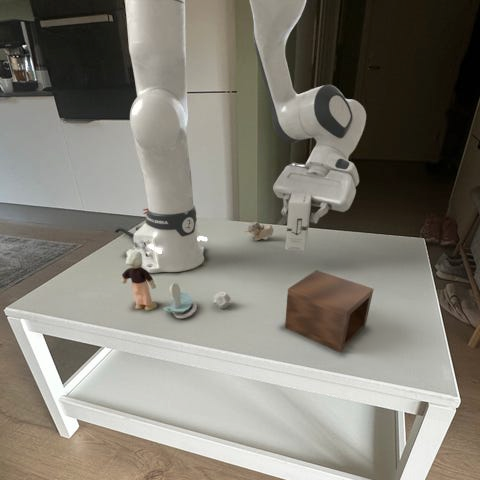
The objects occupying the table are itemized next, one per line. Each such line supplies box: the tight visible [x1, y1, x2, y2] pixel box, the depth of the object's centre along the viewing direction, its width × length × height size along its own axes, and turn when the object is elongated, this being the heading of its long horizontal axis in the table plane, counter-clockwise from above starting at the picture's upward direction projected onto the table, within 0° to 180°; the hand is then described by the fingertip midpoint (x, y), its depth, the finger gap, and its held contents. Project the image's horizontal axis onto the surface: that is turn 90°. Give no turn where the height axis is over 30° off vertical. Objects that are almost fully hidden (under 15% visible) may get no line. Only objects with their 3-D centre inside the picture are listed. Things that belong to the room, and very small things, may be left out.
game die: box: [213, 291, 231, 310], centre depth 78 cm, size 4×4×3 cm
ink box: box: [285, 192, 312, 252], centre depth 88 cm, size 9×5×12 cm, turn 167°
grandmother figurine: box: [121, 250, 157, 311], centre depth 75 cm, size 8×4×13 cm, turn 84°
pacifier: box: [162, 282, 198, 319], centre depth 75 cm, size 7×6×6 cm
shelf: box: [284, 269, 375, 354], centre depth 69 cm, size 12×10×9 cm
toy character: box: [244, 221, 274, 241], centre depth 109 cm, size 4×8×6 cm, turn 79°
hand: (298, 218), depth 87 cm, fingers closed on ink box, 6 cm apart
